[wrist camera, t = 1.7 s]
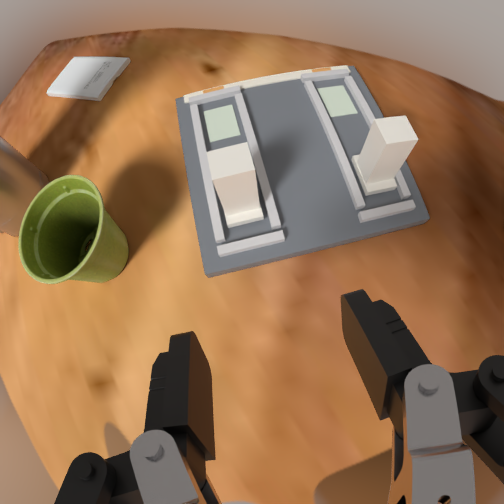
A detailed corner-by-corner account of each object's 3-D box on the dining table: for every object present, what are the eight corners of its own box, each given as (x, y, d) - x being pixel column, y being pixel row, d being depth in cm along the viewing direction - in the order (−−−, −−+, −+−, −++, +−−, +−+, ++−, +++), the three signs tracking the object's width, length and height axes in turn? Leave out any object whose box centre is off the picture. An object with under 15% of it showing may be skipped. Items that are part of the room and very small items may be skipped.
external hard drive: (78, 61, 42) (132, 63, 40) (50, 98, 40) (101, 103, 38) (74, 55, 40) (128, 56, 38) (45, 92, 38) (96, 96, 36)
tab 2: (365, 195, 29) (389, 153, 21) (351, 159, 30) (368, 111, 23) (394, 189, 29) (423, 147, 21) (379, 154, 30) (402, 107, 23)
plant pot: (56, 277, 31) (4, 257, 23) (92, 200, 33) (50, 164, 25) (119, 314, 29) (69, 303, 21) (159, 228, 32) (123, 190, 23)
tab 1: (228, 228, 29) (212, 190, 22) (219, 188, 30) (203, 143, 23) (263, 219, 29) (259, 179, 22) (253, 180, 30) (246, 133, 23)
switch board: (208, 277, 30) (203, 272, 28) (178, 106, 35) (173, 94, 33) (424, 223, 30) (433, 215, 27) (351, 73, 35) (354, 61, 33)
